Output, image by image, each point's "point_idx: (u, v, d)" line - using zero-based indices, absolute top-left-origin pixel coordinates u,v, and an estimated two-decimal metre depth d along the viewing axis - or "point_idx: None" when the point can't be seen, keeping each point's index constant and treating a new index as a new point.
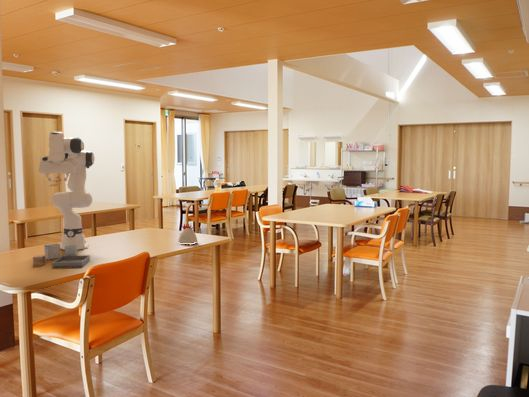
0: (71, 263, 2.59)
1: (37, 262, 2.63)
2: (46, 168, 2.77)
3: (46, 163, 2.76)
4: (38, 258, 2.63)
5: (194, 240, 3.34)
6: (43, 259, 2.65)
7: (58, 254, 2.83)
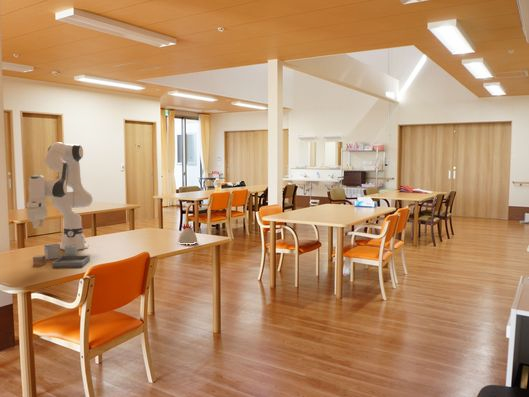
0: (71, 263, 2.59)
1: (37, 262, 2.63)
2: (37, 214, 2.58)
3: (38, 209, 2.58)
4: (38, 258, 2.63)
5: (194, 240, 3.34)
6: (43, 259, 2.65)
7: (58, 254, 2.83)
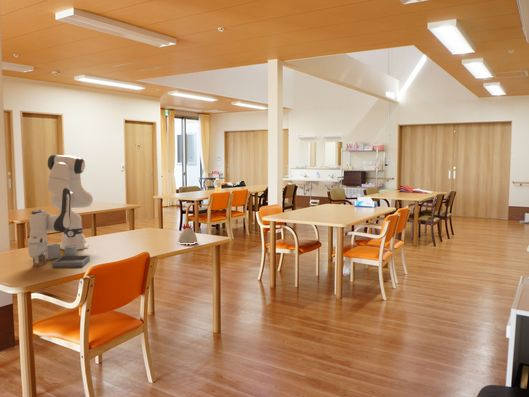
0: (71, 263, 2.59)
1: None
2: (38, 250, 2.60)
3: (39, 245, 2.60)
4: None
5: (194, 240, 3.34)
6: (43, 259, 2.65)
7: (58, 254, 2.83)
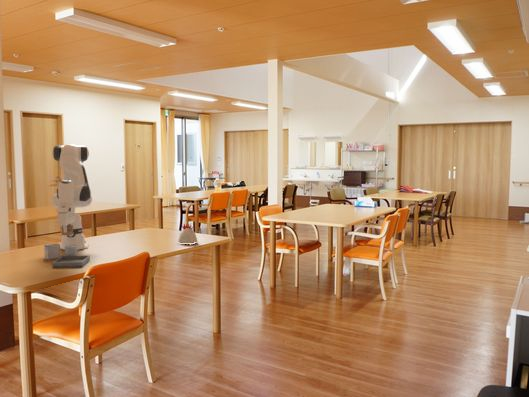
0: (71, 263, 2.59)
1: (66, 232, 2.64)
2: (67, 219, 2.60)
3: (67, 214, 2.60)
4: None
5: (194, 240, 3.34)
6: (71, 229, 2.66)
7: (58, 254, 2.83)
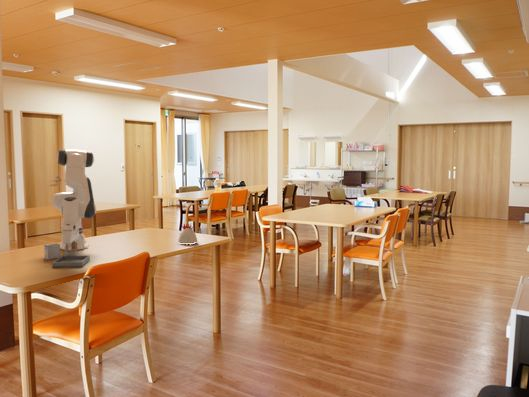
0: (71, 263, 2.59)
1: None
2: (71, 237, 2.61)
3: (72, 232, 2.61)
4: None
5: (194, 240, 3.34)
6: (75, 246, 2.67)
7: (58, 254, 2.83)
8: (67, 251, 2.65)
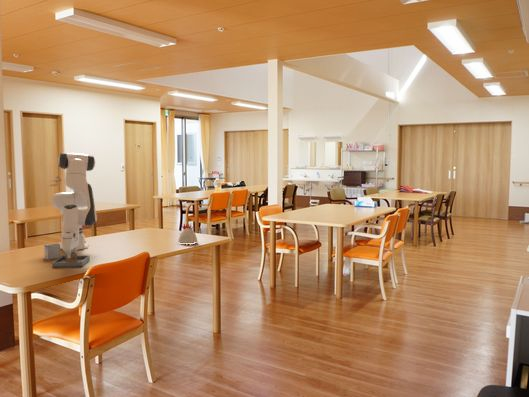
0: (71, 263, 2.59)
1: (70, 260, 2.66)
2: (71, 244, 2.62)
3: (72, 239, 2.62)
4: (71, 255, 2.65)
5: (194, 240, 3.34)
6: (75, 257, 2.68)
7: (58, 254, 2.83)
8: None
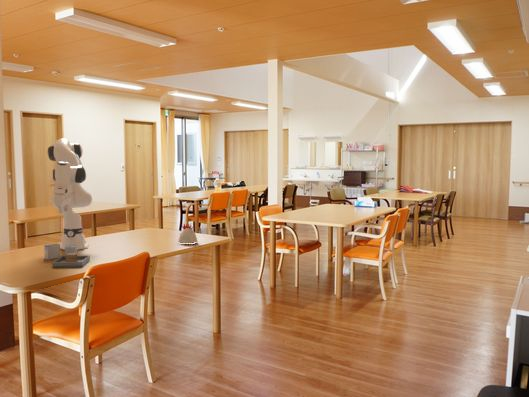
0: (71, 263, 2.59)
1: (70, 260, 2.66)
2: (63, 200, 2.65)
3: (64, 195, 2.65)
4: (71, 255, 2.65)
5: (194, 240, 3.34)
6: (75, 257, 2.68)
7: (58, 254, 2.83)
8: None
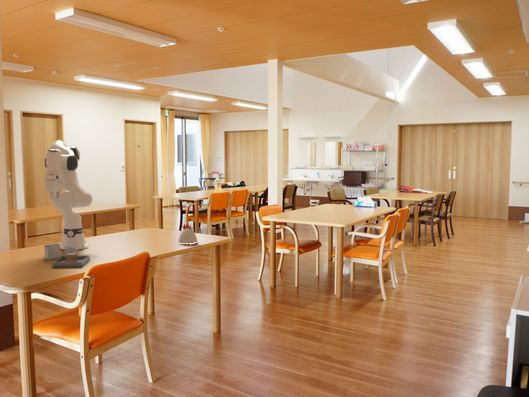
0: (71, 263, 2.59)
1: (70, 260, 2.66)
2: (55, 186, 2.69)
3: (55, 181, 2.69)
4: (71, 255, 2.65)
5: (194, 240, 3.34)
6: (75, 257, 2.68)
7: (58, 254, 2.83)
8: None
